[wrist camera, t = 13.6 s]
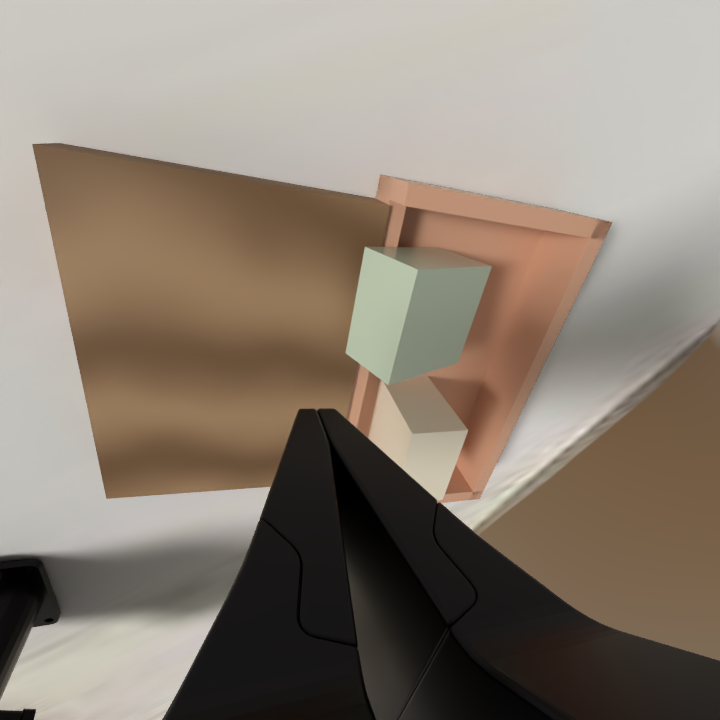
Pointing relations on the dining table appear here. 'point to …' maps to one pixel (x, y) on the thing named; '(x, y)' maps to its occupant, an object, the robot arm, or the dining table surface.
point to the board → (202, 312)
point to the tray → (490, 307)
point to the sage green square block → (413, 310)
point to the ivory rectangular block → (418, 431)
